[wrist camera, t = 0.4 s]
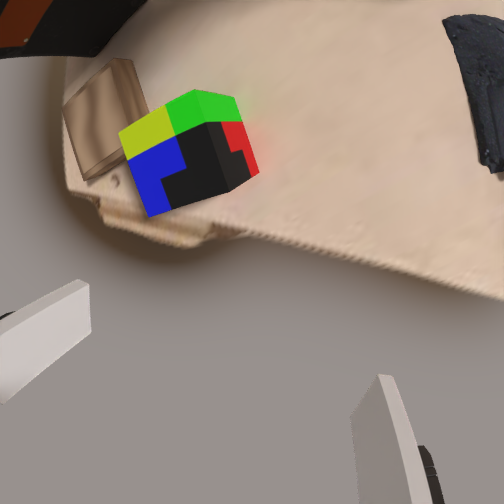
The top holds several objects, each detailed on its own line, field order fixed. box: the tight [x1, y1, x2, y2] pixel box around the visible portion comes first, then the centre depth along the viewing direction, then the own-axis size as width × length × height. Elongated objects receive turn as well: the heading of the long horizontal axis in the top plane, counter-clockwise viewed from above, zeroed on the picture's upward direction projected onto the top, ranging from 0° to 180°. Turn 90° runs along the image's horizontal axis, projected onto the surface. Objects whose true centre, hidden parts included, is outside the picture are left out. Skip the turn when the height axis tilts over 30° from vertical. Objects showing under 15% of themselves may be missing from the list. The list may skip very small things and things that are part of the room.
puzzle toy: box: [118, 89, 260, 217], centre depth 28 cm, size 10×10×10 cm
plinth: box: [62, 58, 149, 181], centre depth 32 cm, size 14×14×4 cm
